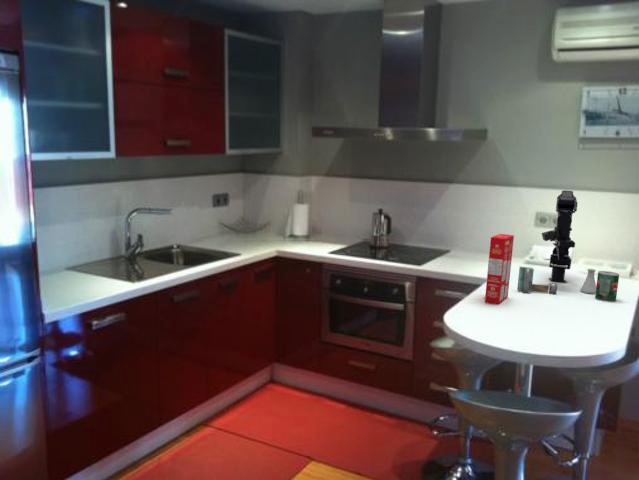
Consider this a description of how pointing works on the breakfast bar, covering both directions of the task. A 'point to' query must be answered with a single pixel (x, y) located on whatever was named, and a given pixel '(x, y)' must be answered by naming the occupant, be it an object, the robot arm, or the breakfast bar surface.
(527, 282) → the post
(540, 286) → the gate
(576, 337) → the breakfast bar surface
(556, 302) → the breakfast bar surface
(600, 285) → the canned tomato
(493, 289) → the food packaging
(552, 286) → the hinge post
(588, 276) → the flask
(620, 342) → the breakfast bar surface
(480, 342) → the breakfast bar surface
